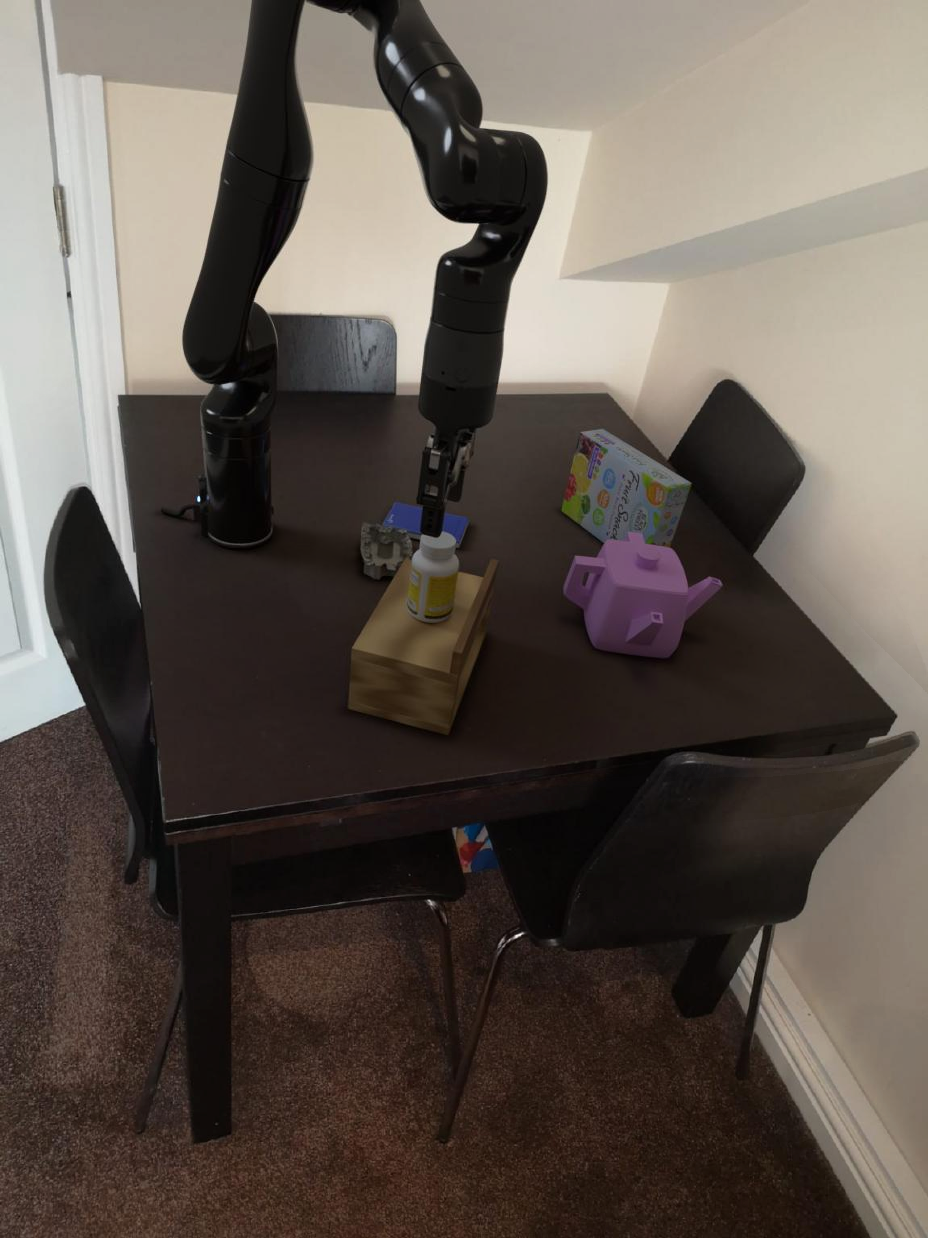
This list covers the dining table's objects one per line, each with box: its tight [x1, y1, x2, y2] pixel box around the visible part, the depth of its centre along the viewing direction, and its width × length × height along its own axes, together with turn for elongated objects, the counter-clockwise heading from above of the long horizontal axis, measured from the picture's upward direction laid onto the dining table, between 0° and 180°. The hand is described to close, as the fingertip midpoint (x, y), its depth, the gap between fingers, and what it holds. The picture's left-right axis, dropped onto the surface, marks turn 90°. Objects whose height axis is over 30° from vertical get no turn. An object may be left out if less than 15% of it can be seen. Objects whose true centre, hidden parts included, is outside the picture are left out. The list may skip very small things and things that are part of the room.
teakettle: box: [562, 531, 723, 659], centre depth 109 cm, size 17×17×12 cm
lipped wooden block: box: [347, 558, 500, 736], centre depth 95 cm, size 12×20×12 cm, turn 167°
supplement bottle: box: [407, 531, 460, 623], centre depth 91 cm, size 5×5×10 cm
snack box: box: [561, 428, 693, 548], centre depth 128 cm, size 21×6×15 cm, turn 33°
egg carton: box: [360, 521, 414, 580], centre depth 117 cm, size 11×8×4 cm
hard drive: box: [381, 502, 470, 549], centre depth 127 cm, size 2×8×12 cm
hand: (440, 516), depth 86 cm, fingers open, 8 cm apart
